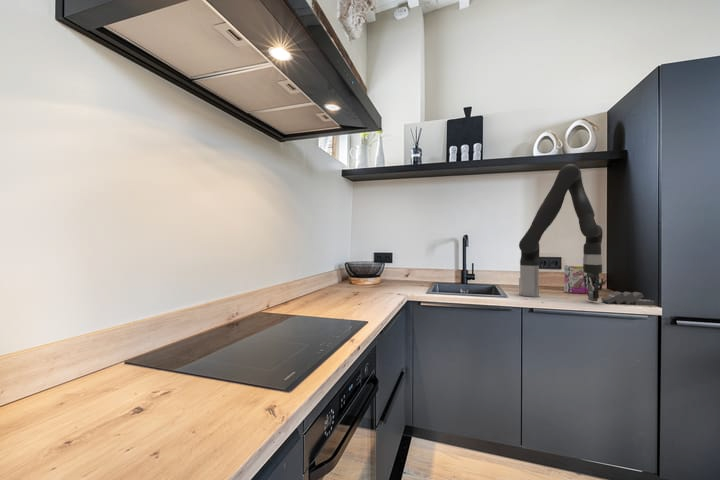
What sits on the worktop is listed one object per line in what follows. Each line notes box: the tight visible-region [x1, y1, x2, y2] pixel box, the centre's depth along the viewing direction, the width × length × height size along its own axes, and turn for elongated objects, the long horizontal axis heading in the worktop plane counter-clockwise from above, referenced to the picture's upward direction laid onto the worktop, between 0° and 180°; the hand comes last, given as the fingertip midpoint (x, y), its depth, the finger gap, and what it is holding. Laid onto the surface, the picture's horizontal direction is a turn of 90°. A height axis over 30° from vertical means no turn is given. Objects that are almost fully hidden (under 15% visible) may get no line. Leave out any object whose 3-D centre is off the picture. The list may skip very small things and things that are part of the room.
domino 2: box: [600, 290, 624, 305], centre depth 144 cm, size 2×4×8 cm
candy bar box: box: [563, 264, 588, 295], centre depth 174 cm, size 11×5×16 cm, turn 84°
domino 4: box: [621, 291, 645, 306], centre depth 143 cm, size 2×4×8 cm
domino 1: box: [587, 284, 599, 302], centre depth 146 cm, size 2×4×8 cm, turn 167°
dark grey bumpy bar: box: [611, 291, 634, 305], centre depth 144 cm, size 2×4×8 cm
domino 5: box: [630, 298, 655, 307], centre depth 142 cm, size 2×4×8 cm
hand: (593, 297), depth 146 cm, fingers closed on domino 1, 4 cm apart
